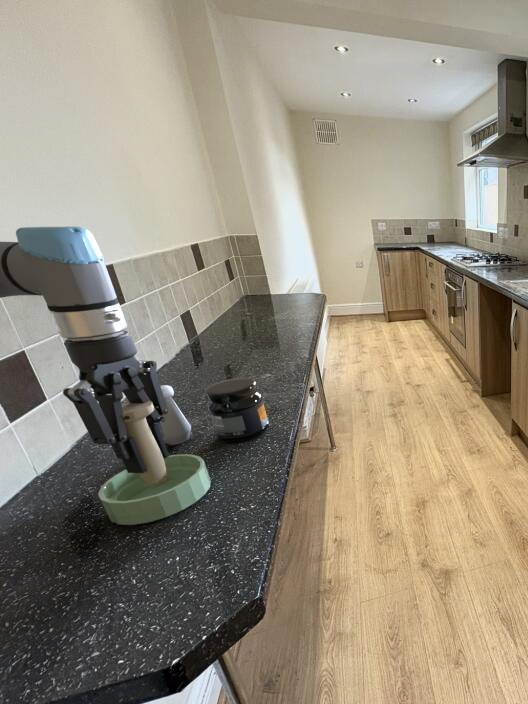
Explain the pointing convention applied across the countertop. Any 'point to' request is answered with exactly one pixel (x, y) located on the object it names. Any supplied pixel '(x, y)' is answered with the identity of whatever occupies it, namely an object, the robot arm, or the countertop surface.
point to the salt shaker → (174, 420)
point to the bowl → (155, 491)
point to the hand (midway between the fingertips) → (149, 463)
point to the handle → (145, 442)
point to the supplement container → (236, 410)
